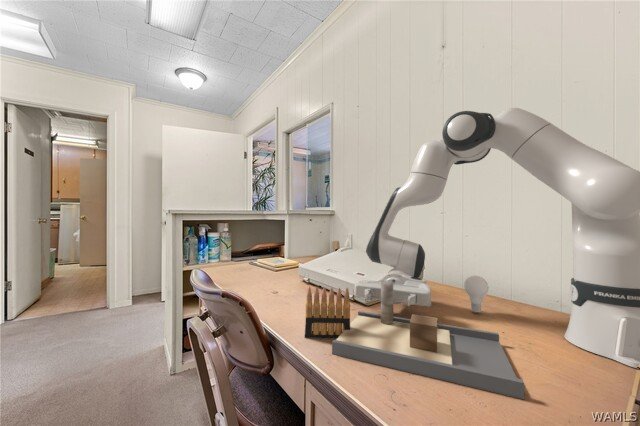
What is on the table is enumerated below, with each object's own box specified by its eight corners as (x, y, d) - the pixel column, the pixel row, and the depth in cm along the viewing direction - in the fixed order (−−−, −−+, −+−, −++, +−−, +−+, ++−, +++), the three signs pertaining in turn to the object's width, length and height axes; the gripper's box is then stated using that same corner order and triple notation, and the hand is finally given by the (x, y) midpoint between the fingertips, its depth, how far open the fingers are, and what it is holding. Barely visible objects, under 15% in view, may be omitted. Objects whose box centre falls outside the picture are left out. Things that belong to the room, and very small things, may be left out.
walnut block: (437, 341, 56) (437, 317, 56) (436, 352, 51) (436, 326, 51) (412, 337, 58) (412, 314, 58) (409, 347, 53) (409, 322, 53)
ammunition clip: (304, 339, 61) (305, 288, 61) (305, 336, 63) (305, 285, 63) (350, 340, 61) (351, 288, 61) (349, 336, 63) (350, 286, 63)
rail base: (498, 344, 59) (498, 333, 59) (524, 399, 41) (524, 383, 41) (359, 320, 72) (359, 310, 72) (332, 353, 54) (332, 341, 54)
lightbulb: (459, 310, 81) (459, 274, 82) (475, 308, 83) (475, 273, 83) (477, 317, 75) (476, 278, 75) (493, 315, 77) (493, 277, 77)
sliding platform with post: (449, 333, 62) (449, 287, 62) (452, 369, 47) (452, 308, 47) (357, 318, 71) (357, 277, 71) (335, 343, 56) (336, 292, 56)
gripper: (361, 273, 83) (347, 282, 71) (432, 280, 75) (430, 292, 62) (361, 293, 83) (347, 306, 70) (432, 302, 75) (430, 319, 62)
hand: (386, 300), depth 66 cm, fingers open, 8 cm apart
